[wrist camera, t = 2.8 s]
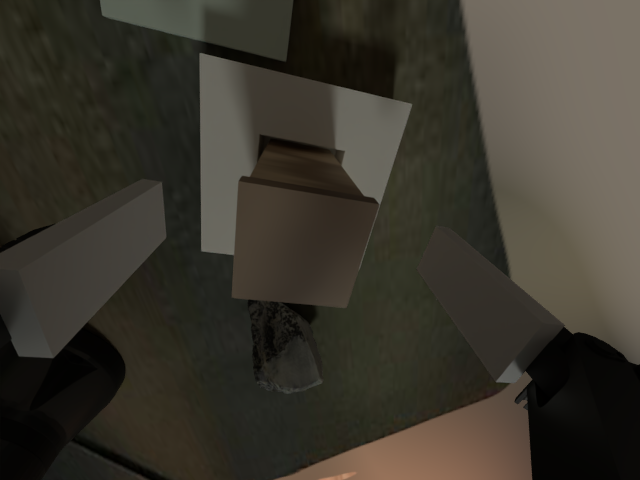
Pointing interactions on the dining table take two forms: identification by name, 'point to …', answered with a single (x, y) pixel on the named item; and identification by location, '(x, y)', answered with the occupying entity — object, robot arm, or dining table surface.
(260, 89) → the white square platform
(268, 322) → the stone
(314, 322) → the dining table surface
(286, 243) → the brown tall block
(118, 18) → the mat
